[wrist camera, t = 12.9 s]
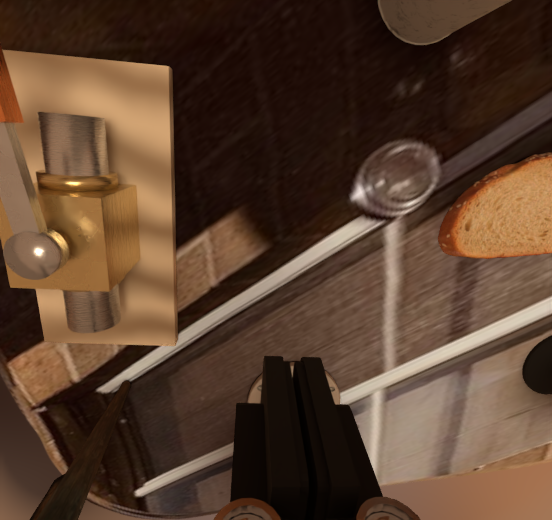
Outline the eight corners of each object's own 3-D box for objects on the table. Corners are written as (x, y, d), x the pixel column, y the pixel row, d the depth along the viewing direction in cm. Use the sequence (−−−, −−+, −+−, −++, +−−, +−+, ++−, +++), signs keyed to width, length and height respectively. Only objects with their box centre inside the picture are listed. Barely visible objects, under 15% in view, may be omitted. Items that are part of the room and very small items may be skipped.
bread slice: (423, 239, 40) (440, 249, 37) (530, 98, 36) (561, 94, 32) (526, 305, 44) (549, 320, 41) (634, 186, 40) (671, 191, 36)
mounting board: (177, 339, 42) (175, 345, 41) (52, 335, 41) (44, 342, 40) (172, 69, 32) (168, 66, 31) (6, 53, 31) (-6, 48, 30)
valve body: (143, 307, 39) (110, 357, 30) (70, 305, 38) (15, 355, 29) (132, 121, 32) (86, 114, 23) (44, 113, 32) (-38, 103, 23)
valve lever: (74, 268, 27) (62, 277, 25) (28, 273, 27) (13, 282, 25) (1, 18, 21) (-21, 8, 19) (-59, 22, 21) (-86, 12, 19)
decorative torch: (127, 352, 42) (-122, 773, 14) (165, 386, 44) (14, 812, 16) (89, 381, 43) (-214, 826, 15) (128, 412, 46) (-75, 857, 17)
